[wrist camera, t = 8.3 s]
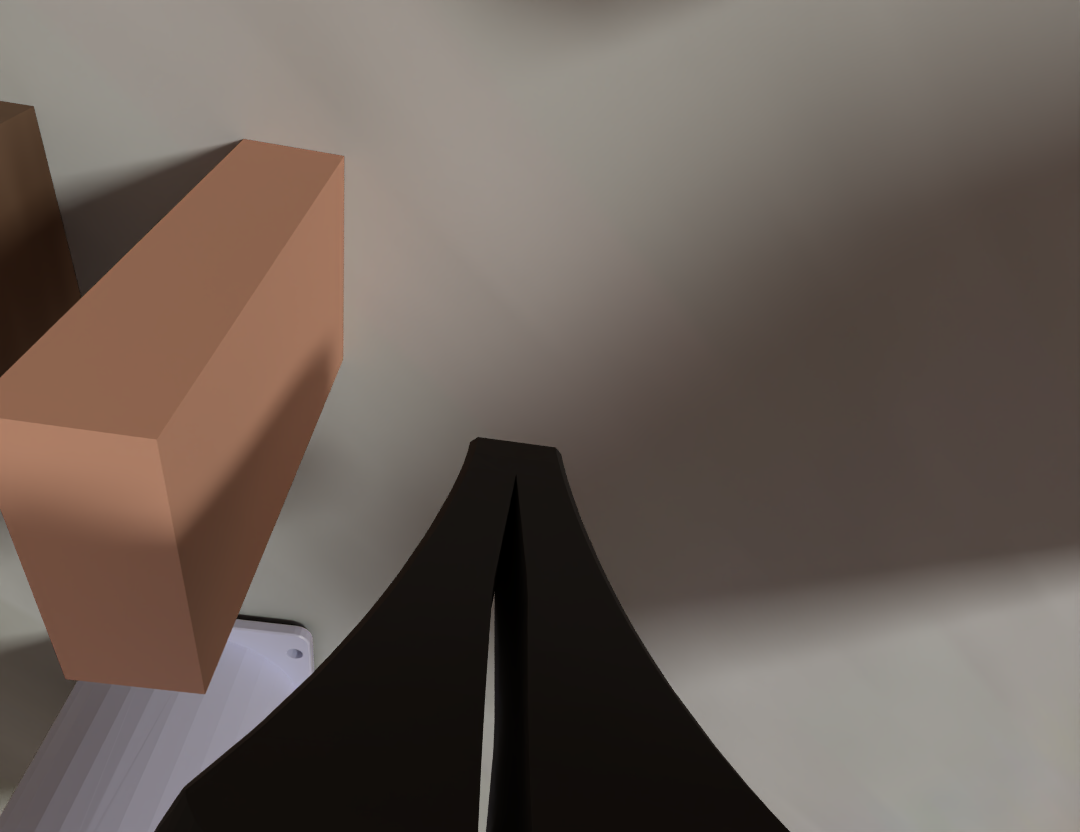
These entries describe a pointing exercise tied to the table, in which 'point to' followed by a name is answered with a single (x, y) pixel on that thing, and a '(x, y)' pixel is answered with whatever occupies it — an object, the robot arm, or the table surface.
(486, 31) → the table surface
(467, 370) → the table surface
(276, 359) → the domino
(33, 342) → the domino
